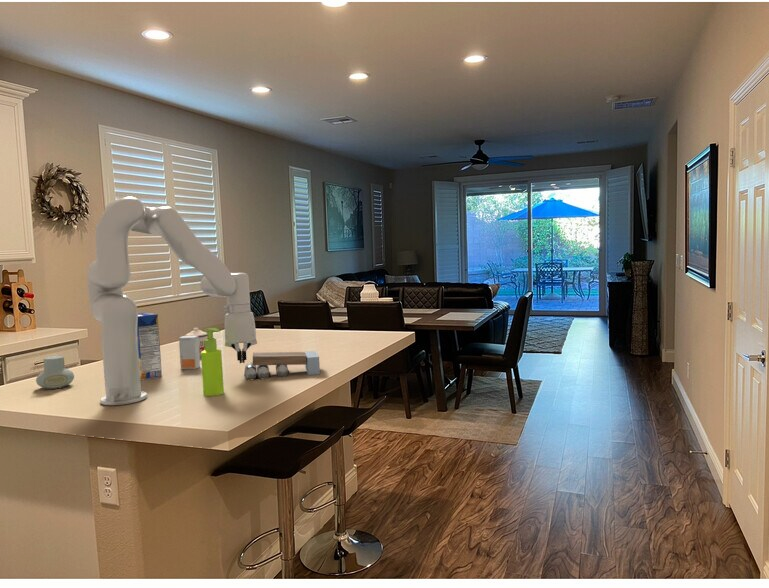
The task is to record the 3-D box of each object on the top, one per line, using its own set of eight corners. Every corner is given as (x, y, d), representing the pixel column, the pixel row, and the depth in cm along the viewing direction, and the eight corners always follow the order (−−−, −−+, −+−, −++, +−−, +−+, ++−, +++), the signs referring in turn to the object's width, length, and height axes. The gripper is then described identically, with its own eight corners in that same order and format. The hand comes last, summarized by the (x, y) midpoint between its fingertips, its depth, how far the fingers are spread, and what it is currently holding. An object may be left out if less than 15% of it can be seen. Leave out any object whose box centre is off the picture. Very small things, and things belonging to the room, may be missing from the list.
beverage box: (142, 379, 192) (137, 316, 190) (131, 375, 200) (127, 314, 199) (162, 376, 197) (157, 314, 195) (150, 371, 205) (146, 312, 203)
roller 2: (274, 369, 188) (279, 379, 189) (284, 363, 189) (290, 373, 189) (273, 363, 199) (278, 372, 199) (283, 357, 199) (288, 367, 200)
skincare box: (180, 369, 207) (178, 337, 206) (184, 367, 212) (182, 335, 211) (196, 369, 207) (194, 337, 206) (200, 366, 211) (198, 335, 210)
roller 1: (245, 367, 186) (243, 379, 186) (257, 369, 187) (255, 381, 187) (246, 361, 196) (243, 372, 196) (257, 363, 197) (255, 374, 197)
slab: (306, 364, 192) (306, 355, 192) (252, 365, 188) (252, 356, 188) (304, 360, 200) (304, 351, 199) (252, 360, 196) (252, 352, 195)
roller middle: (254, 373, 187) (263, 381, 187) (263, 365, 187) (271, 373, 188) (254, 367, 197) (262, 374, 198) (262, 358, 198) (270, 366, 198)
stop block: (319, 374, 191) (319, 356, 190) (308, 375, 190) (307, 357, 190) (316, 367, 203) (315, 350, 202) (305, 368, 202) (304, 351, 201)
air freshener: (36, 392, 179) (34, 361, 179) (36, 387, 186) (34, 357, 186) (75, 386, 185) (73, 357, 184) (74, 382, 192) (71, 353, 191)
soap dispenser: (215, 397, 165) (210, 330, 163) (199, 394, 168) (195, 329, 167) (230, 392, 170) (226, 327, 168) (214, 390, 173) (210, 326, 172)
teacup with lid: (194, 358, 229) (192, 330, 228) (182, 356, 235) (180, 328, 234) (219, 353, 239) (217, 326, 238) (206, 351, 244) (205, 325, 243)
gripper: (215, 311, 184) (218, 366, 186) (261, 308, 187) (264, 362, 189) (216, 309, 191) (220, 362, 193) (261, 306, 195) (264, 358, 196)
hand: (242, 362), depth 191 cm, fingers closed
